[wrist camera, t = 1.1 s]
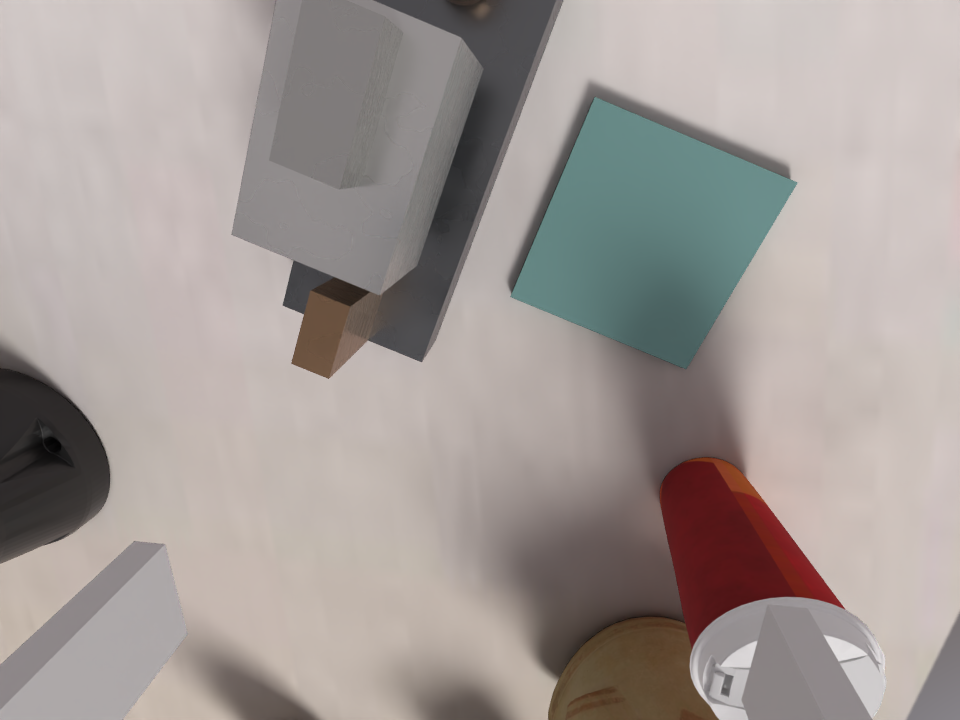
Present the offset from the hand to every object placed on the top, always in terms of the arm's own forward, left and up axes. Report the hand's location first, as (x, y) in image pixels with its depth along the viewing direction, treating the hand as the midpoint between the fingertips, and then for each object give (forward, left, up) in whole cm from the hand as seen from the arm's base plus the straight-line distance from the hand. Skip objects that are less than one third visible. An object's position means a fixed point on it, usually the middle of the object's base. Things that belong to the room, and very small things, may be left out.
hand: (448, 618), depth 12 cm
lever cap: (-9, +7, -16) cm, 20 cm away
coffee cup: (+17, -7, -24) cm, 31 cm away
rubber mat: (+5, +7, -24) cm, 26 cm away
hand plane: (-9, +7, -24) cm, 27 cm away
